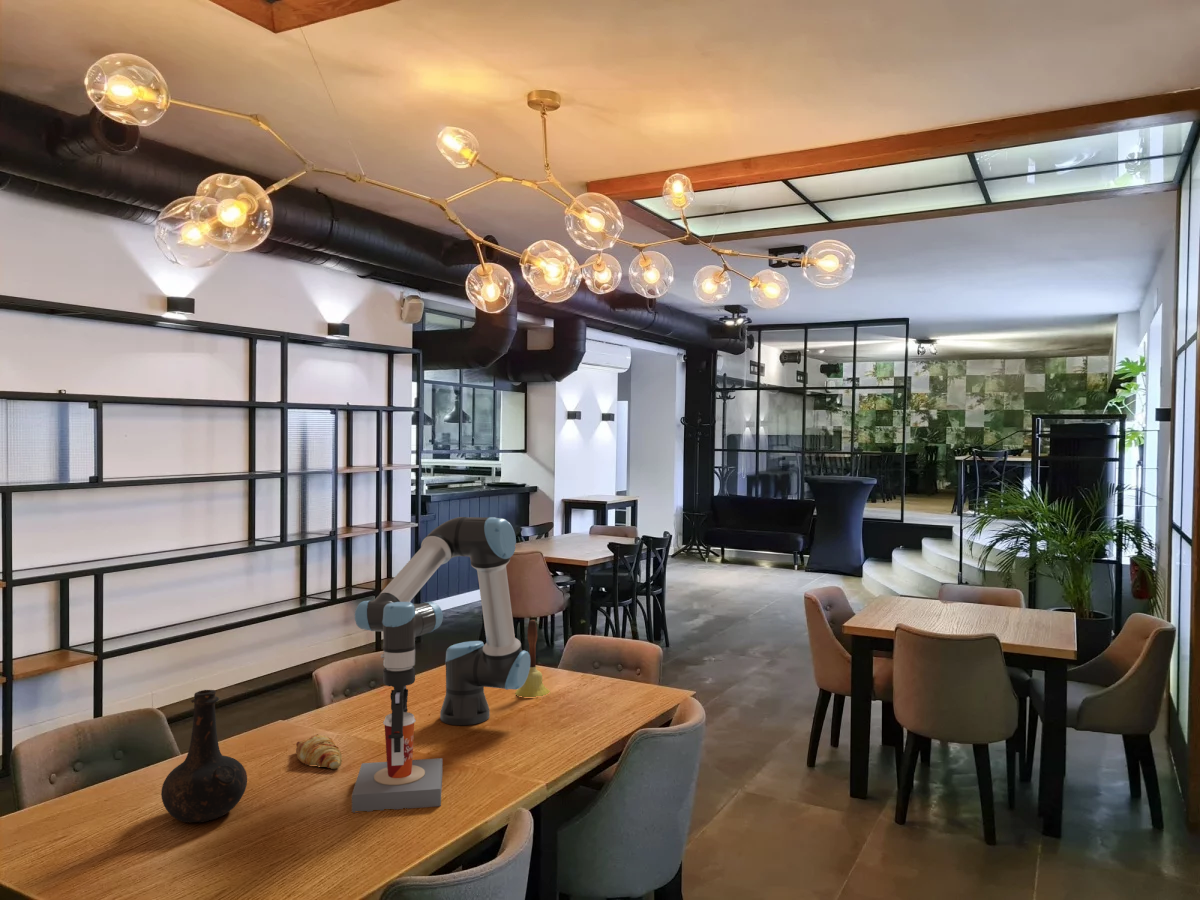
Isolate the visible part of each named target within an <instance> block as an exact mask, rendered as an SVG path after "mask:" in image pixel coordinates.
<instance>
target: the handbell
mask: <svg viewBox="0 0 1200 900" xmlns="http://www.w3.org/2000/svg"><path fill="white" fill-rule="evenodd" d="M537 641H538V626H537V622H536V620H535V619H531V620H529V621H528V625H527V642H528V647H529V648H528V650H529V652H528V653H529V654H530V670H529V674H528V677H527V679H526V681H525V683H524V685H523V686H522V687H521V688H519V689H516V691H515V693H514V695H515V694H516V695H518V696H522V697H536V696H543V695H546V694H548V693H549V692H550V693H551V690H550V689H549V688H547V687H546V686H545V685H544V683H543V674H542V671H540V670H538V669H537V665H536V664H537V663H536V662H537V660H536V659H537V658H536V657H537V656H536V653H537V652H536V649H537V647H536V645H537Z"/></svg>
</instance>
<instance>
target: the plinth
mask: <svg viewBox="0 0 1200 900" xmlns="http://www.w3.org/2000/svg"><path fill="white" fill-rule="evenodd" d="M442 787H443V758H441V757H440V758H426V759H412V771H411V774H410V775H409V776H407V777H403V778H391V777H389V776H388V769H387V761H379V762H378V761H376V762H362V763H361V766H360V769H359V772H358V775H357V777H356V781H355V783H354V787H353V790H352V793H351V813H352V812H353V813H356V812H355V811H367V812H374V811H373V810H380V811H385V810H384V809H394V810H406V808H407V809H417V808H419V809H420V808H431V807H432V808H433V807H442V806H441V805H442ZM403 808H405V809H403Z"/></svg>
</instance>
